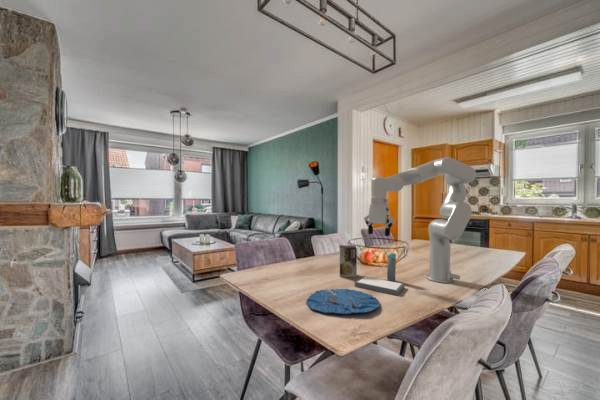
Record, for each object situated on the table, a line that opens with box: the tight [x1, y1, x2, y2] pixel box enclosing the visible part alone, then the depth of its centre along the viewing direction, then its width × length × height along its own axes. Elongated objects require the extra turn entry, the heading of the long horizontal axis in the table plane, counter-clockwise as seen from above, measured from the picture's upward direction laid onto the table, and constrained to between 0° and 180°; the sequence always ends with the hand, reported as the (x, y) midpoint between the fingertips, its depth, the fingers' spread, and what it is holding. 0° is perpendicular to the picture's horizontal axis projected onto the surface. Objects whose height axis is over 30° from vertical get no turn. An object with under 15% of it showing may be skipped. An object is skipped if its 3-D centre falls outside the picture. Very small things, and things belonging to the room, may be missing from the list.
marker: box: [386, 252, 397, 282], centre depth 133 cm, size 4×4×14 cm
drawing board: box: [354, 275, 405, 296], centre depth 123 cm, size 20×12×2 cm, turn 55°
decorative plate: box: [305, 288, 381, 315], centre depth 105 cm, size 30×30×5 cm
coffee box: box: [338, 244, 358, 278], centre depth 141 cm, size 9×6×16 cm
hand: (378, 234), depth 132 cm, fingers open, 9 cm apart
